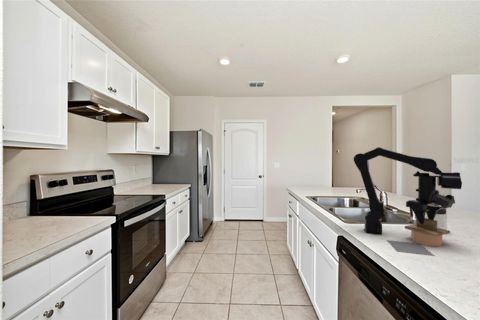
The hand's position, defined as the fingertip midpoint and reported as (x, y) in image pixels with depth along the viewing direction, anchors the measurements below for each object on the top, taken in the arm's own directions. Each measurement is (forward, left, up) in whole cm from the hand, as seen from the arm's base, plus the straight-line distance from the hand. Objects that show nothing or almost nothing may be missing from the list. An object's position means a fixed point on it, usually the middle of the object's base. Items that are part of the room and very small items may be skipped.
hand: (426, 223), depth 92 cm
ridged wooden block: (0, 0, -3) cm, 3 cm away
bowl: (0, 0, -8) cm, 8 cm away
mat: (-10, -10, -8) cm, 16 cm away
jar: (+11, +18, -8) cm, 23 cm away
